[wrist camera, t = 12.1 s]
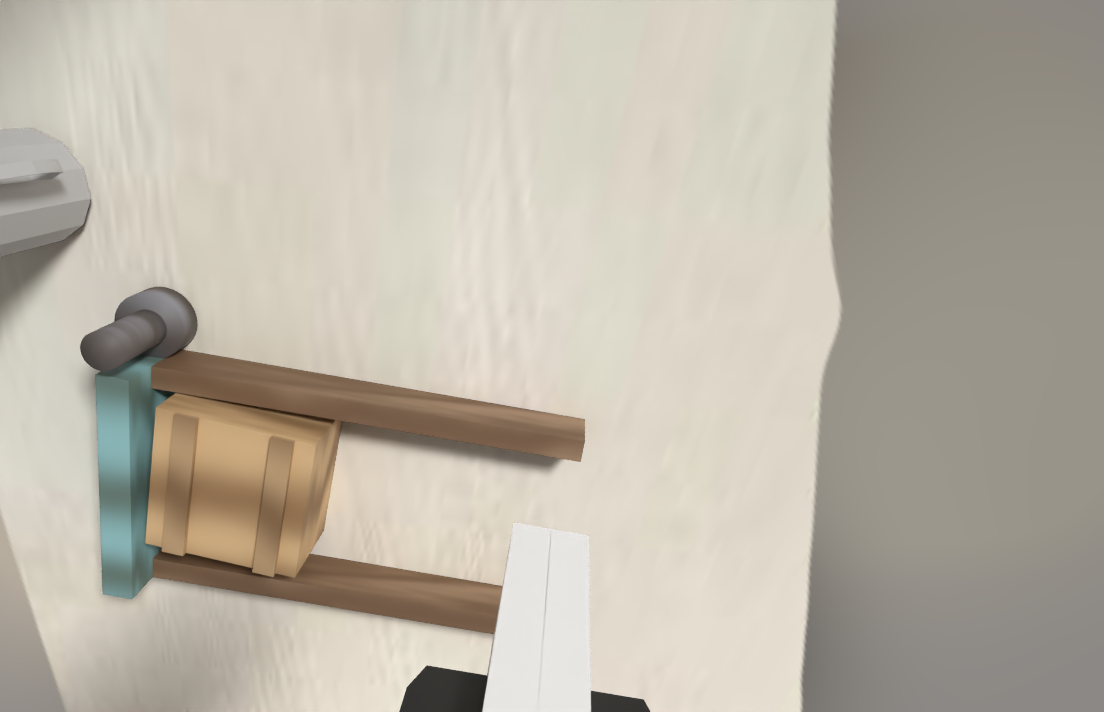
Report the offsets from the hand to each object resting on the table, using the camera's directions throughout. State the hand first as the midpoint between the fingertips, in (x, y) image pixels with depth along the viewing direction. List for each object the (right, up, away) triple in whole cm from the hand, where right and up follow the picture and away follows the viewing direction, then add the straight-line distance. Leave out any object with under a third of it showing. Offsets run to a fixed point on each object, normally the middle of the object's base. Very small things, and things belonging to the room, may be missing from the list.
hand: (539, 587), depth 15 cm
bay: (-14, -3, +38) cm, 40 cm away
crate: (-20, -2, +38) cm, 43 cm away
